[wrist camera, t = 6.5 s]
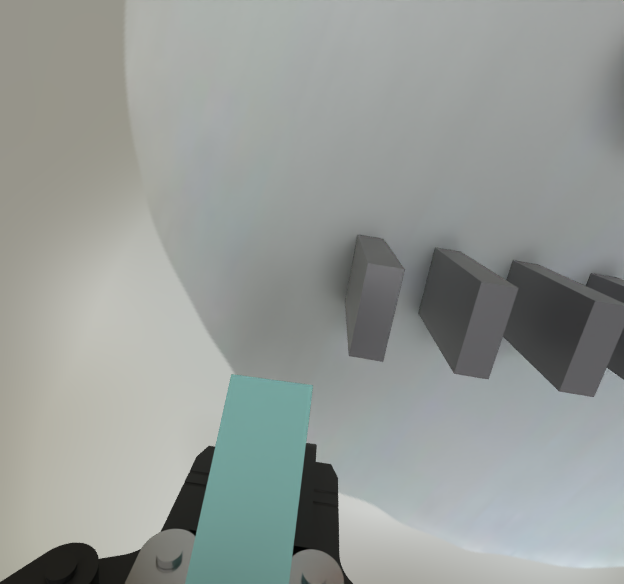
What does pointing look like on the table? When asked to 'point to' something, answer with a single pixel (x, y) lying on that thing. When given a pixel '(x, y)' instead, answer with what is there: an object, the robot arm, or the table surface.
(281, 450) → the domino
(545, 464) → the table surface
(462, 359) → the domino
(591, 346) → the domino
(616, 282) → the domino
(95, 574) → the robot arm
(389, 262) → the domino
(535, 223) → the table surface
